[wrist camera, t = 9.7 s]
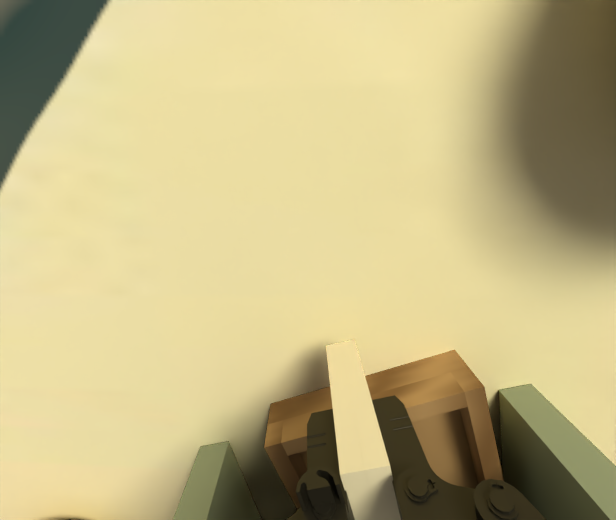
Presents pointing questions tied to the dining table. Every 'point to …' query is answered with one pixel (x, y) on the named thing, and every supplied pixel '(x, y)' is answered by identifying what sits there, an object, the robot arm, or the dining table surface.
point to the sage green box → (515, 462)
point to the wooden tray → (422, 412)
